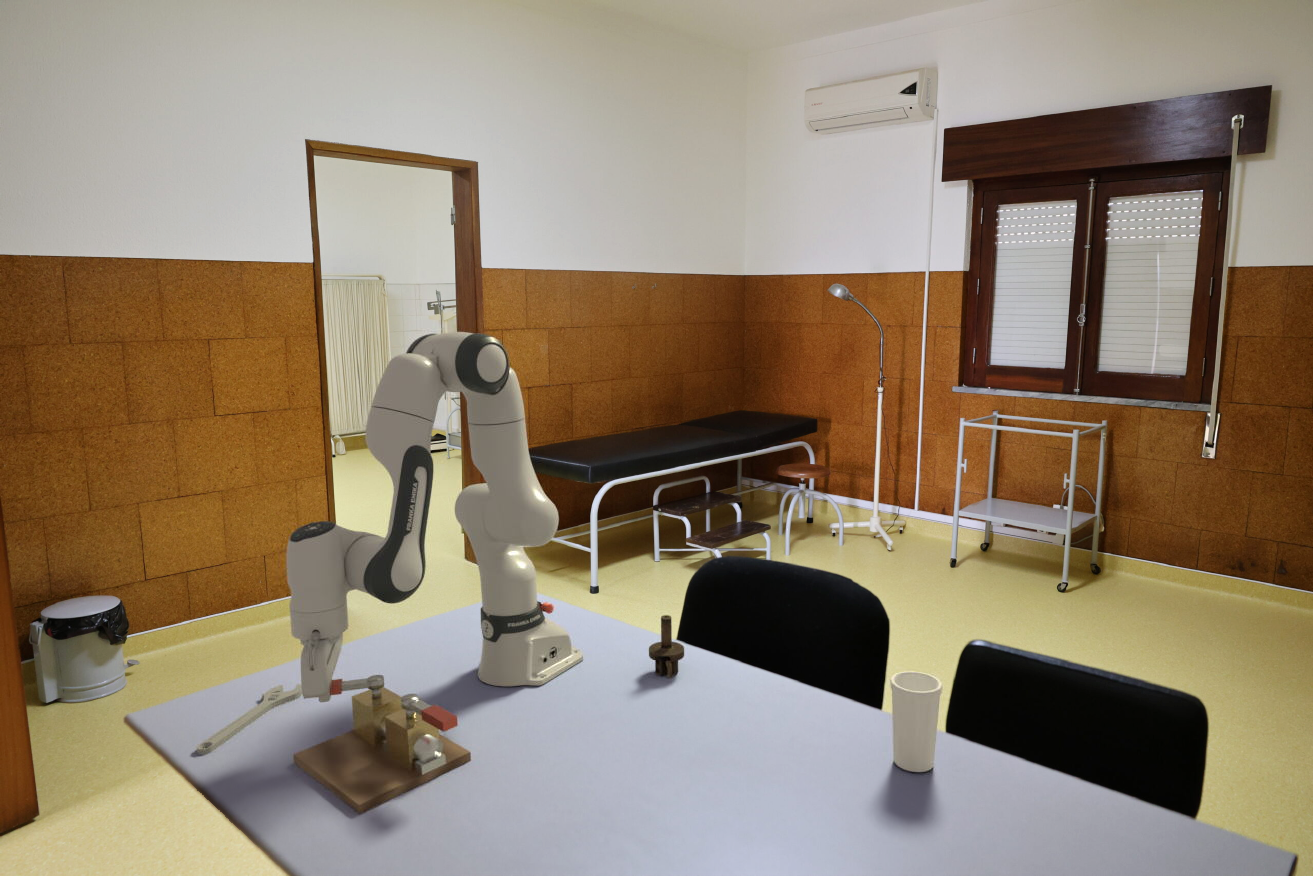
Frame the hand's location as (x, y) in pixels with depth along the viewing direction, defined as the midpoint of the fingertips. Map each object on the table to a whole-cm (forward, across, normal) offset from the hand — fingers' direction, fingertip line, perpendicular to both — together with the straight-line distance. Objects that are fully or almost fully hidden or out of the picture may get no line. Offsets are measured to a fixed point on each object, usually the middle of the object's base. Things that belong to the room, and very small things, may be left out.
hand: (325, 699), depth 144 cm
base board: (+10, -4, -9) cm, 14 cm away
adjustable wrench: (+11, +18, +17) cm, 27 cm away
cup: (+10, -28, -94) cm, 98 cm away
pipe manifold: (+9, -5, -13) cm, 16 cm away
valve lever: (0, +2, -3) cm, 4 cm away
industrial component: (+10, +17, -64) cm, 67 cm away
